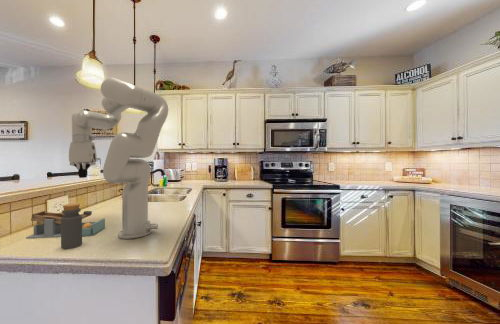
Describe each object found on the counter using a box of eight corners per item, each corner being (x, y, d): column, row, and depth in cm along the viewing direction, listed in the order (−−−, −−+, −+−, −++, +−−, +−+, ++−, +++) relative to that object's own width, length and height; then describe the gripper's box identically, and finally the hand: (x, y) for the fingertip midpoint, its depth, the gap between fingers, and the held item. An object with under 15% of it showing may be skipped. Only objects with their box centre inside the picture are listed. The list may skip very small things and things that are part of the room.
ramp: (92, 217, 103) (93, 209, 103) (70, 228, 87) (71, 218, 87) (58, 214, 100) (60, 206, 101) (30, 224, 85) (31, 214, 85)
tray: (104, 228, 97) (104, 218, 97) (92, 235, 87) (92, 224, 87) (82, 229, 95) (82, 219, 95) (67, 237, 85) (66, 225, 85)
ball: (89, 220, 93) (83, 226, 92) (84, 222, 89) (78, 229, 89) (96, 224, 93) (90, 231, 93) (91, 227, 90) (85, 234, 89)
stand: (81, 229, 95) (81, 213, 95) (67, 236, 86) (66, 219, 86) (44, 231, 92) (44, 215, 92) (26, 238, 84) (26, 220, 84)
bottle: (69, 249, 73) (69, 206, 73) (56, 248, 74) (56, 205, 74) (86, 243, 79) (86, 203, 79) (73, 242, 80) (73, 202, 80)
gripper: (103, 140, 107) (104, 176, 107) (70, 140, 104) (71, 177, 104) (94, 138, 99) (95, 177, 99) (59, 138, 97) (59, 178, 97)
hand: (83, 177), depth 102 cm, fingers closed
